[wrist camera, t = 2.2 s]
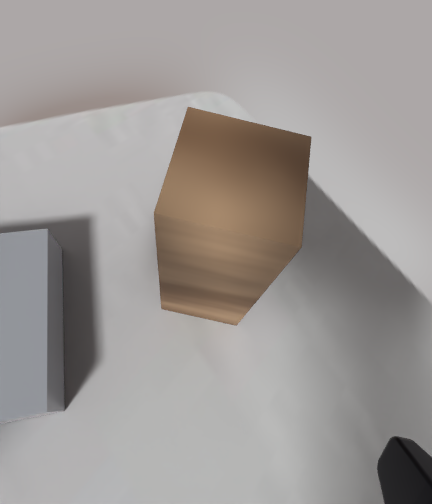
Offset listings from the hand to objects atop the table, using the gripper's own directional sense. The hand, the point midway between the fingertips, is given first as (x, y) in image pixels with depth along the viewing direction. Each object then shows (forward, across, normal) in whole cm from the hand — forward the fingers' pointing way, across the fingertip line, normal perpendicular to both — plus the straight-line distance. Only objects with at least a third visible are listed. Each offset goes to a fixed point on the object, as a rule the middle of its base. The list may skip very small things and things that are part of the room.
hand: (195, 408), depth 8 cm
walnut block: (+15, 0, +4) cm, 15 cm away
